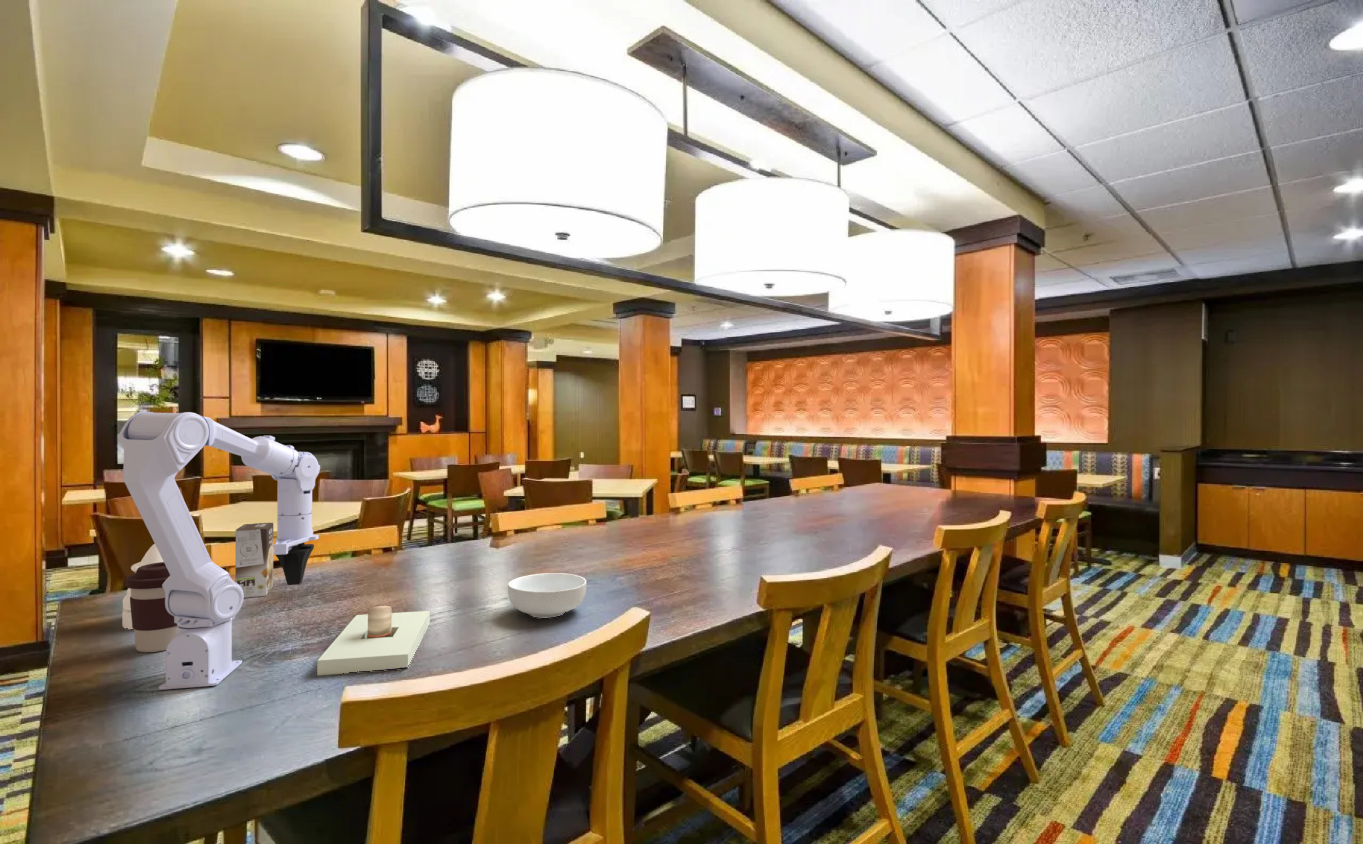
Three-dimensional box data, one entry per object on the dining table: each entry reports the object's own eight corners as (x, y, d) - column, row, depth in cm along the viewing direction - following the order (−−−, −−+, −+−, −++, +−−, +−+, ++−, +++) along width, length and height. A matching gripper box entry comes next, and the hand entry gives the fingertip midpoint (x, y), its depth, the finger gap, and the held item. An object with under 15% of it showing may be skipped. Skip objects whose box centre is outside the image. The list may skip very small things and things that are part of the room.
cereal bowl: (598, 605, 144) (598, 575, 144) (565, 629, 128) (566, 595, 128) (531, 598, 149) (532, 569, 149) (492, 621, 133) (492, 587, 133)
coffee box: (267, 596, 148) (267, 528, 148) (234, 599, 145) (234, 530, 145) (273, 586, 156) (274, 521, 156) (242, 589, 154) (243, 523, 153)
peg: (388, 649, 116) (388, 612, 116) (364, 651, 115) (365, 613, 115) (393, 641, 120) (394, 605, 120) (371, 643, 119) (371, 606, 119)
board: (407, 668, 108) (407, 654, 107) (317, 675, 104) (317, 660, 104) (429, 622, 131) (429, 610, 131) (356, 627, 128) (356, 615, 128)
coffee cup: (140, 640, 119) (140, 561, 119) (203, 634, 123) (203, 557, 122) (114, 659, 110) (115, 573, 110) (183, 652, 113) (184, 569, 113)
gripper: (304, 519, 115) (304, 593, 115) (329, 507, 129) (329, 573, 129) (261, 520, 113) (261, 595, 113) (291, 508, 127) (290, 575, 128)
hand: (294, 584), depth 121 cm, fingers closed
